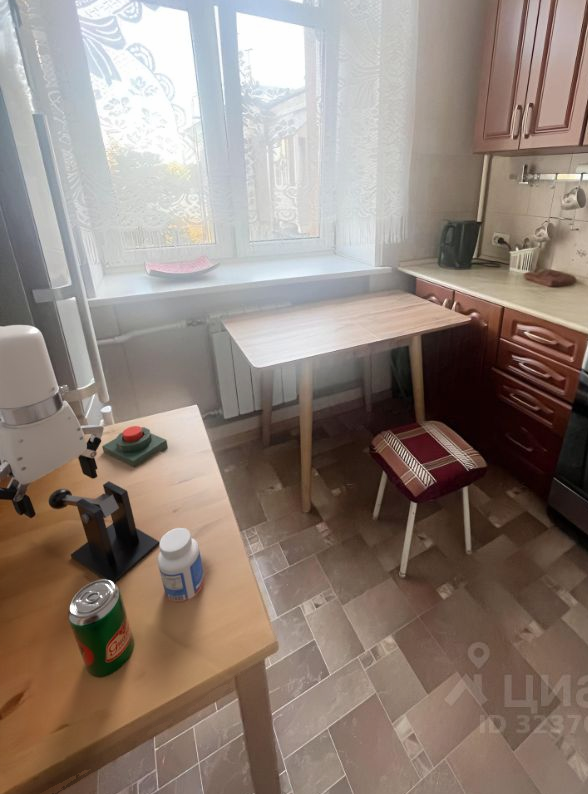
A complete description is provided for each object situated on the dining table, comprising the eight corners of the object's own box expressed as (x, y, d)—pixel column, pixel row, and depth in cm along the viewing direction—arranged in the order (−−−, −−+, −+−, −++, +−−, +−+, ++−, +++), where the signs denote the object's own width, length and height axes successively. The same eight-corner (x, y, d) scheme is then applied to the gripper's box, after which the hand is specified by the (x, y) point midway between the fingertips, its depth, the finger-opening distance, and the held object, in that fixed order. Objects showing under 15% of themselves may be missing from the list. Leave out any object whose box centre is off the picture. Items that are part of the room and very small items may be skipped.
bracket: (72, 560, 62) (53, 502, 57) (120, 523, 68) (106, 469, 64) (113, 588, 58) (96, 528, 53) (160, 546, 64) (148, 490, 60)
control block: (103, 454, 85) (100, 439, 83) (137, 434, 91) (134, 420, 90) (135, 469, 81) (131, 453, 79) (168, 447, 87) (165, 432, 86)
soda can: (122, 687, 47) (100, 621, 42) (79, 685, 47) (54, 619, 42) (144, 640, 51) (127, 576, 47) (105, 639, 51) (85, 575, 47)
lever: (49, 512, 66) (41, 496, 65) (70, 499, 69) (62, 484, 68) (103, 522, 58) (94, 504, 57) (123, 507, 60) (115, 490, 60)
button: (120, 439, 84) (118, 432, 83) (135, 430, 87) (134, 424, 86) (131, 444, 82) (129, 437, 82) (146, 435, 85) (145, 428, 85)
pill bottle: (195, 563, 62) (187, 516, 58) (211, 587, 58) (203, 539, 55) (159, 586, 58) (148, 537, 55) (173, 613, 55) (162, 563, 51)
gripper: (76, 376, 68) (98, 456, 75) (-56, 429, 54) (-14, 522, 60) (103, 387, 65) (124, 469, 72) (-29, 445, 51) (12, 541, 57)
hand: (61, 493), depth 66 cm, fingers open, 9 cm apart
